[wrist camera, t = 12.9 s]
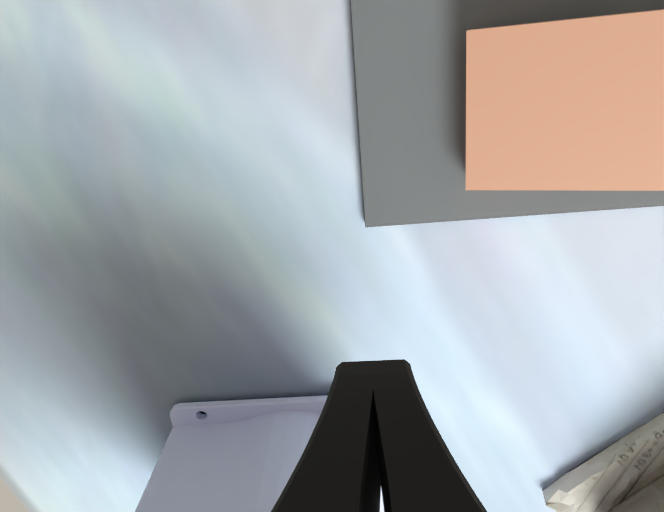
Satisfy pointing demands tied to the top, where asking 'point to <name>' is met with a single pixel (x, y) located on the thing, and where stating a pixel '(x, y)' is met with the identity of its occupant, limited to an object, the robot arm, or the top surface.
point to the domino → (567, 104)
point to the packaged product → (616, 476)
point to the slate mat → (447, 110)
